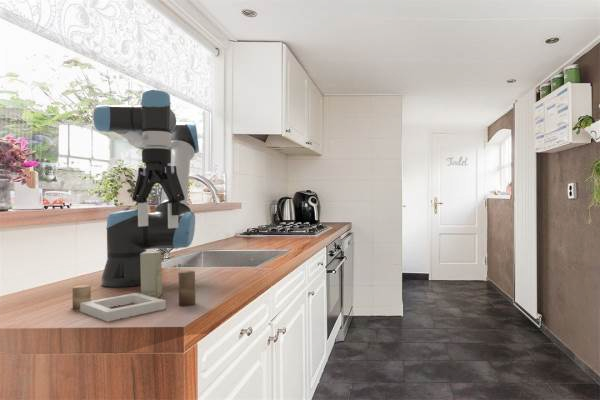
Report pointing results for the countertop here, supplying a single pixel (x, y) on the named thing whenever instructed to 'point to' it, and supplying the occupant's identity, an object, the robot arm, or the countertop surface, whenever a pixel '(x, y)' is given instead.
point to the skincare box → (151, 273)
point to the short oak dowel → (81, 295)
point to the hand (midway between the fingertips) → (157, 227)
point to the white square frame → (106, 313)
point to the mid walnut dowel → (186, 288)
